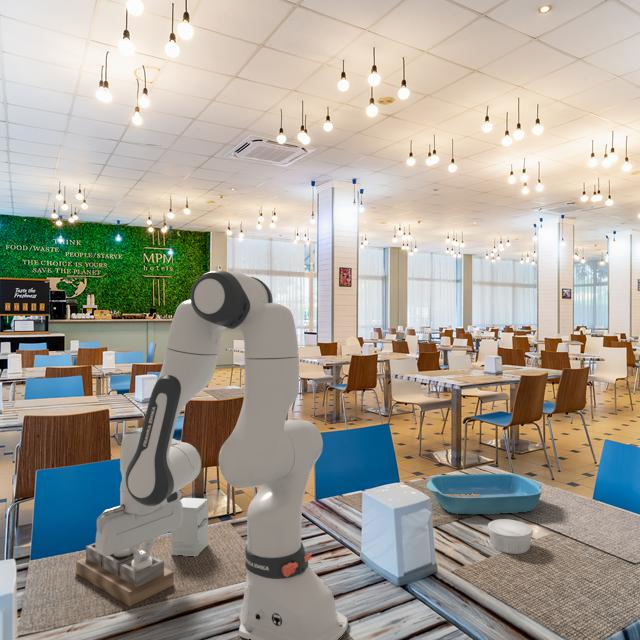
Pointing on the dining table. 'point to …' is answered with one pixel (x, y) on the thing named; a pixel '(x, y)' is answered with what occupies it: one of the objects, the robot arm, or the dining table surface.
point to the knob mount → (124, 576)
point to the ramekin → (510, 536)
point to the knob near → (141, 564)
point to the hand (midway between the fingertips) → (141, 560)
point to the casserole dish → (486, 493)
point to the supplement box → (191, 528)
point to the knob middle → (123, 553)
